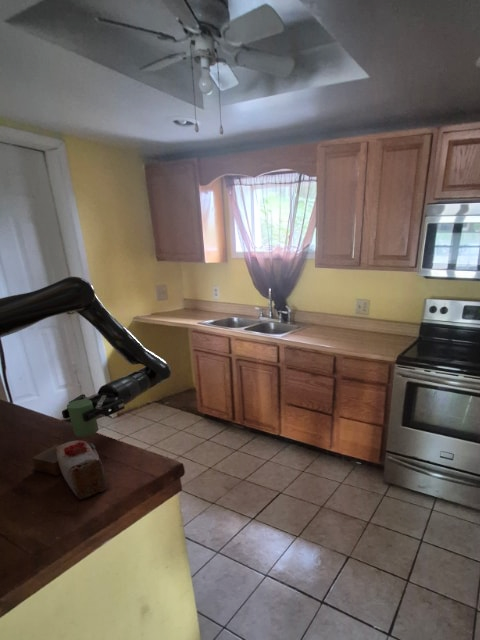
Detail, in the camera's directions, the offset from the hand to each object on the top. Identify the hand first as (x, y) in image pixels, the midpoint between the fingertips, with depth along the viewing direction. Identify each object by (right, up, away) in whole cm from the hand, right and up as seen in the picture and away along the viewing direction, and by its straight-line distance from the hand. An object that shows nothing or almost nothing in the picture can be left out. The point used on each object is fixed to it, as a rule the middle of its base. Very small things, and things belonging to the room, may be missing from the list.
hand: (74, 416), depth 92 cm
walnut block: (-3, -12, -1) cm, 12 cm away
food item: (+7, -15, -7) cm, 18 cm away
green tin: (+1, -4, +4) cm, 6 cm away
